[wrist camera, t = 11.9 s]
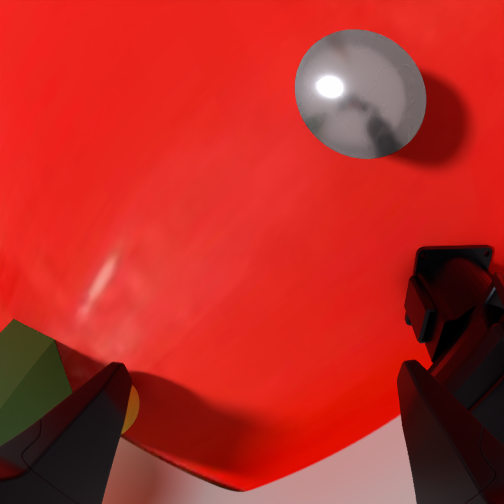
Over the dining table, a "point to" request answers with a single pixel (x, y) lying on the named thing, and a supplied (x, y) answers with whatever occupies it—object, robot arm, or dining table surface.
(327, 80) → the steel tin
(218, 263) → the dining table surface
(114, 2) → the dining table surface
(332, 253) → the dining table surface
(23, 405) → the hardback book
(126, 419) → the lemon
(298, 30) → the dining table surface
